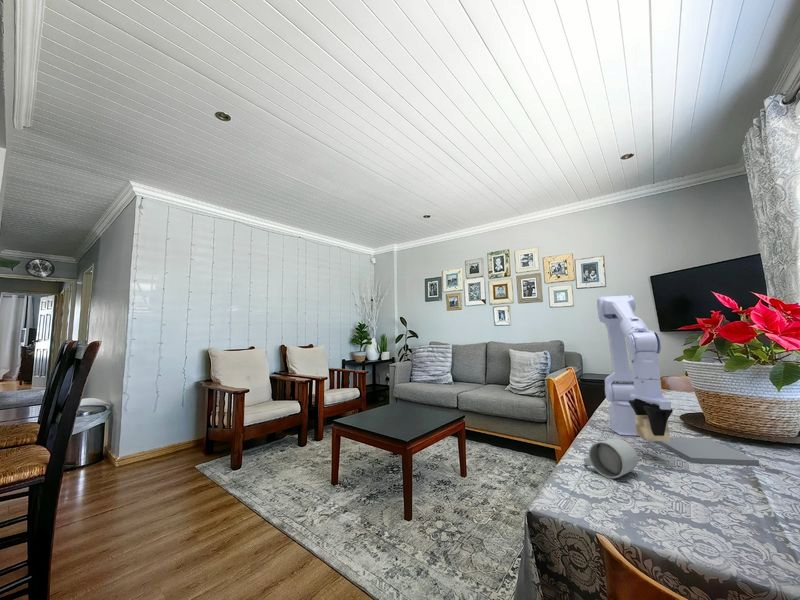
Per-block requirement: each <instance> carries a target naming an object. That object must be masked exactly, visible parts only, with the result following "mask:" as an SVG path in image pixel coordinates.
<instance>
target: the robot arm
mask: <svg viewBox="0 0 800 600" xmlns="http://www.w3.org/2000/svg"><path fill="white" fill-rule="evenodd" d="M636 306H637V304H636V299H635V298H634V296H633V295H631V294H628V295H627V294H626V295H615V296H614V295H612V296H611V295H610V296H603V295H602V296H599V297H598V298H597V300H596V309H597V310H596V311H597V316H598V317H597V318H598V319H599V322H600V323H603V324H605V328H606V330H607V337H608V344H609V352H610V358H611V359H610V360H611V366H612V373H610V374H609V375H608V376H606V377H605V379H604V395H605V398H606V401H608V402H609V405H608V418H609V425H608V424H607V425H606V427H607V428H609V429H610V430H611V431H613V432H614V433H616V434H617V435H620V436H633V437H634V436H635V437H637V436H639V435H637V433H636V423H635V415H648V418H649V421H650V425H651V430H652V433H653V435H655V436H664V434H665V429H666V424H667V421H668V422H669V418H670V416H671V415H672V414H673V411H674V410H673V408H672V405H671V404H672V403H671V401H670V400H667V399H666V397H664V396H663V390H662V381H661V373H660V372H661V371H660V363H659V362H660V361H659V354H660V353H661V350H662V342H661V338H660V336H659V334H658V332H657V331H656V330H655V331H653V330H650V329H649V328H648V326H647V325H646V324H645V322H644V320H643V319H642V318H640V317H639V316H636V315H635V311H636ZM629 360H630V362H631V368H630V362H629ZM631 370H632V371H631ZM639 437H640V436H639Z"/></svg>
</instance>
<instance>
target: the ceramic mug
mask: <svg viewBox="0 0 800 600" xmlns="http://www.w3.org/2000/svg"><path fill="white" fill-rule="evenodd" d="M638 456H639V455H638V453H637V451H636V449H635V448H634V446H632V444H630V443H629V442H628V441H626V440H623V439H620V438H610V439H609V438H608V439H606V440H605V439H604V440H599V441H596V442H593V444H591V446H590V447H589V450H588V456H586V457H584V458H583V462H584V464H585V466H592V467H593V469H594V470H595V471H596V472H597V473H598V474H600V475H601V476H602V477H605V478H608V479H619V478H620V477H622V476H625V475H627V474H628V473H630V472H632V471H634V470H635V469H636V468H637V466H638V464H639V457H638Z"/></svg>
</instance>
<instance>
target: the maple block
mask: <svg viewBox="0 0 800 600" xmlns="http://www.w3.org/2000/svg"><path fill="white" fill-rule="evenodd" d="M635 423H636V433H637V435H639V437H641V438H642V439H644V440H645V441H647V442H648V441H649V442H654V441H670V437H671V436H670V429H669V420H668V421H667V424H666V429H665V434H664V436H655V435H653V433H652V430H651V425H650V421H649V418H648V415H635Z"/></svg>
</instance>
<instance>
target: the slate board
mask: <svg viewBox="0 0 800 600" xmlns="http://www.w3.org/2000/svg"><path fill="white" fill-rule="evenodd" d="M669 437H670V441H653V442H655V443H656V444H658V445H660V446H661V447H663V448H664V449H667V450H669V451H670V452H672V453H674V454H676V455H678V456H679V457H681V458H683V459H684V460H686V461H687V462H690V464H691V463H692V464H707V465H708V464H710V465H712V464H713V465H731V466H732V465H733V466H734V465H737V466H757V465H760V460H759V459H757V458H754V457H752V456H749V455H748V454H746V453H743V452H740V451H738V450H736V449H733V448H732V447H729V446H727V445H724V444H723V443H722V444H721V443H719V442H717V441H716V440H713V439H710V438H707V437H705V438H704V437H677V436H676V437H675V436H673V437H671V436H669Z"/></svg>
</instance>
